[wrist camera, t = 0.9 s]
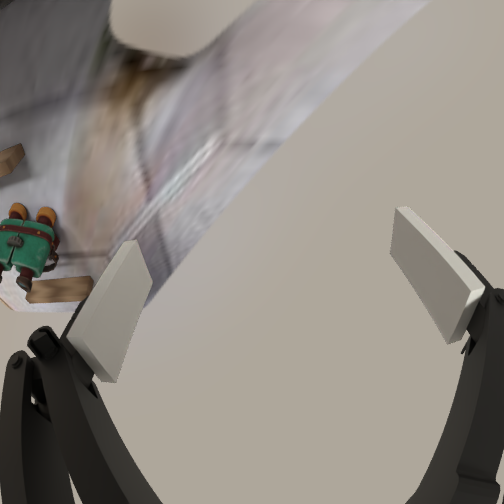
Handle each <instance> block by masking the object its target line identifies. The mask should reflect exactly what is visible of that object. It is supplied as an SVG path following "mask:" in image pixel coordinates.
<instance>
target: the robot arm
mask: <svg viewBox="0 0 504 504" xmlns="http://www.w3.org/2000/svg"><path fill="white" fill-rule="evenodd" d="M12 1H13V0H0V9H2V8H3V7H5V6H6V5H8V4H9V3H10V2H12ZM390 254H391V256H392V257H393V259H394V260H395V262H396V263H397V264H398V266H399V267H400V269H401V270H402V271H403V273H404V275H405V276H406V278H407V279H408V281H409V282H410V283H411V285H412V287H413V288H414V289H415V291H416V293H417V294H418V296H419V298H420V299H421V301H422V302H423V304H424V305H425V307H426V309H427V310H428V312H429V314H430V315H431V317H432V318H433V320H434V322H435V324H436V325H437V327H438V329H439V331H440V332H441V334H442V336H443V338H444V339H445V341H446V343H447V344H450V343H453V342H456V341H459V340H461V339H462V337H463V335H464V333H465V331H466V329H467V331H468V332H469V334H470V337H469V339H468V341H467V342H466V344H465V346H464V348H463V349H462V352H461V354H463V353H464V351H465V350H466V351H465V356H464V361H463V366H462V370H461V375H460V379H459V383H458V386H457V390H456V393H455V397H454V401H453V404H452V407H451V410H450V413H449V416H448V419H447V422H446V425H445V428H444V431H443V433H442V436H441V439H440V441H439V444H438V446H437V449H436V451H435V453H434V456H433V458H432V460H431V462H430V465H429V467H428V469H427V471H426V473H425V475H424V477H423V479H422V481H421V483H420V485H419V487H418V489H417V490H416V492H415V493H414V494H413V496H412V497H411V498H410V499H409V500H408V501H407V502H406V503H405V504H496V503H497V500H498V498H499V494H500V485H499V484H498V483H497V482H496V473H497V470H498V467H499V464H500V460H501V457H502V454H503V450H504V289H500V288H496V289H494V288H493V287H492V286H491V285H490V283H489V282H488V281H487V280H486V279H485V278H484V276H483V275H482V274H481V273H480V272H479V271H478V270H477V269H476V267H475V266H474V265H472V264H471V262H470V261H469V260H468V259H467V258H466V257H465V256H464V255H462V254H461V253H459V252H458V251H453V250H452V249H451V248H450V247H449V246H448V245H447V244H446V243H445V242H444V241H443V240H442V239H441V238H440V237H439V236H438V235H437V234H436V233H435V232H434V231H433V230H432V229H431V228H430V227H429V226H428V225H427V224H426V223H425V222H424V221H423V220H422V219H421V218H420V217H419V216H418V215H416V214H415V213H414V212H413V211H412V210H411V209H410V208H409V207H396V208H395V216H394V225H393V234H392V242H391V250H390ZM152 284H153V281H152V279H151V276H150V273H149V271H148V268H147V266H146V263H145V261H144V258H143V255H142V253H141V250H140V247H139V245H138V242H137V240H131V241H124V242H123V244H122V245H121V247H120V248H119V250H118V251H117V253H116V254H115V256H114V257H113V259H112V260H111V262H110V263H109V265H108V266H107V268H106V269H105V271H104V273H103V274H102V276H101V277H100V279H99V281H98V282H97V284H96V285H95V287H94V289H93V290H92V292H91V294H90V295H89V296H87V297H86V298H85V299H84V300H83V301H82V302H81V303H80V304H79V305H78V307H77V309H76V310H75V313H74V314H73V316H72V318H71V320H70V321H69V323H68V324H67V326H66V328H65V330H64V332H63V334H62V335H61V337H60V339H59V338H58V337H57V336H56V334H55V333H54V331H53V330H52V328H51V327H49V326H43V327H41V328H38V329H37V330H36V331H34V332H33V334H32V335H31V336H30V337H29V340H28V344H27V346H28V347H29V348H30V350H31V351H32V352H33V353H34V355H35V356H36V357H33V358H30V357H29V356H28V355H27V353H26V352H25V351H23V350H21V351H18V352H16V353H14V354H13V355H12V356H11V357H10V359H9V361H8V363H7V367H6V372H5V379H4V385H3V392H2V401H1V411H0V487H1V496H2V504H75V502H74V497H73V493H72V488H71V483H70V478H69V474H70V476H71V479H72V481H73V484H74V486H75V488H76V490H77V493H78V495H79V497H80V499H81V501H82V503H83V504H163V503H162V502H161V501H160V499H159V498H158V497H157V495H156V494H155V492H154V491H153V489H152V488H151V487H150V485H149V484H148V482H147V481H146V479H145V478H144V476H143V475H142V473H141V471H140V470H139V468H138V467H137V465H136V463H135V462H134V460H133V458H132V457H131V455H130V453H129V452H128V450H127V448H126V446H125V444H124V443H123V441H122V439H121V437H120V435H119V433H118V431H117V429H116V427H115V425H114V424H113V422H112V420H111V418H110V415H109V413H108V411H107V409H106V407H105V405H104V403H103V400H102V398H101V396H100V394H99V391H98V389H97V387H96V384H95V383H94V382H93V381H92V378H93V375H94V373H95V374H96V376H97V377H98V378H99V379H100V380H101V382H111V383H116V382H117V379H118V376H119V373H120V370H121V367H122V364H123V361H124V358H125V355H126V352H127V349H128V346H129V343H130V341H131V338H132V335H133V332H134V330H135V327H136V324H137V322H138V319H139V317H140V314H141V311H142V309H143V306H144V304H145V301H146V299H147V296H148V294H149V291H150V289H151V286H152ZM31 396H32V397H33V398H34V399H35V404H33V403H32V402H31ZM502 504H504V496H503V502H502Z"/></svg>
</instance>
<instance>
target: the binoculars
mask: <svg viewBox="0 0 504 504" xmlns="http://www.w3.org/2000/svg"><path fill="white" fill-rule="evenodd" d="M26 217H27V212H26V209H25V208H24V206H23V205H21V204H19V203H14V204H13V205H12V207H11V209H10V211H9V219H4V220H3V221H2V222H1V224H0V283H1V281H2V276H1V274H2V271H10V270H11V268H12V266H13V265H15V266H16V270H17V271H18V272H19V273H20V276H18V277H17V280H16V283H17V284H18V285H19V286H20V287H21V288H22V289H23V290H25V291H26V292H29V293H30V292H31V289H32V284H33V283H32V277H35V278H39V277H40V276H41V274H42V272H49V271H51V270H54V268H55V267H56V265H57V261H58V259H59V257H58V254H56V253H55V251H56V250H57V247H58V245H59V243H60V240H59V238H58V237H57V236H56V235H55V234H54V231H53V229H52V227H53V225H54V223H55V220H56V215H55V213H54V211H53V210H52V209H50V208H48V207H42V208H41V209H40V210H39V212H38V214H37V217H36V221H37V222H33V221H25V219H26ZM48 256H49V260H52V259H53V260H54V261H55V263H53V264H51V265H48V266H45V263H46V260H47V257H48Z"/></svg>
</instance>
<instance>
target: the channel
mask: <svg viewBox="0 0 504 504" xmlns="http://www.w3.org/2000/svg"><path fill="white" fill-rule="evenodd" d="M24 155H25V153H24V150H23V148H22V145H21V143H20V144H18V145H15V146H13V147H10V148H8V149H6V150H3V151H1V152H0V177H2V176H5V175H7V174H10V173H11V172H12V171H13V170H14V168H15V167H16V166H17V164H18V163H19V162H20V160H21V159H22V158H23V157H24ZM32 283H33V284H32V289H31V292H30V293H29V292H27V294H26V298H25V299H26V300H27V301H28V302H29V303H53V302H72V301H83V300H84V299H85V298H86V297H87V296H89V295H90V294H91V292H92V287H93V280H92V278H91V277H90V276H83V277H73V278H62V279H51V280H40V281H32Z"/></svg>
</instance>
